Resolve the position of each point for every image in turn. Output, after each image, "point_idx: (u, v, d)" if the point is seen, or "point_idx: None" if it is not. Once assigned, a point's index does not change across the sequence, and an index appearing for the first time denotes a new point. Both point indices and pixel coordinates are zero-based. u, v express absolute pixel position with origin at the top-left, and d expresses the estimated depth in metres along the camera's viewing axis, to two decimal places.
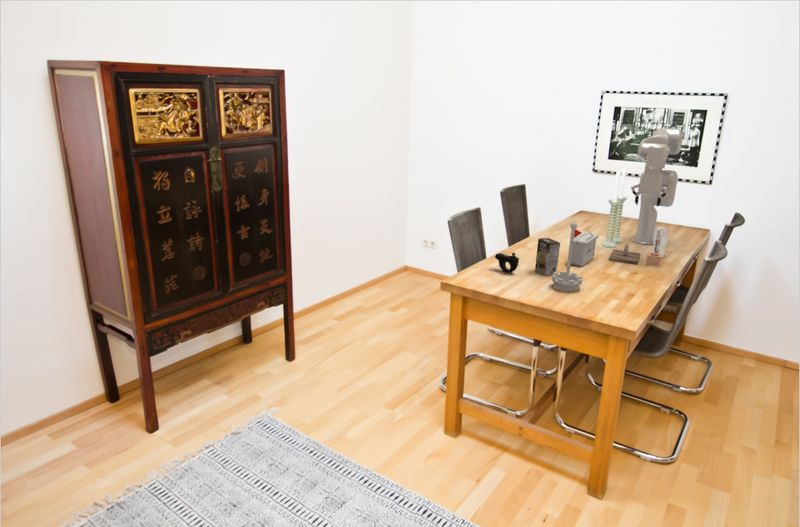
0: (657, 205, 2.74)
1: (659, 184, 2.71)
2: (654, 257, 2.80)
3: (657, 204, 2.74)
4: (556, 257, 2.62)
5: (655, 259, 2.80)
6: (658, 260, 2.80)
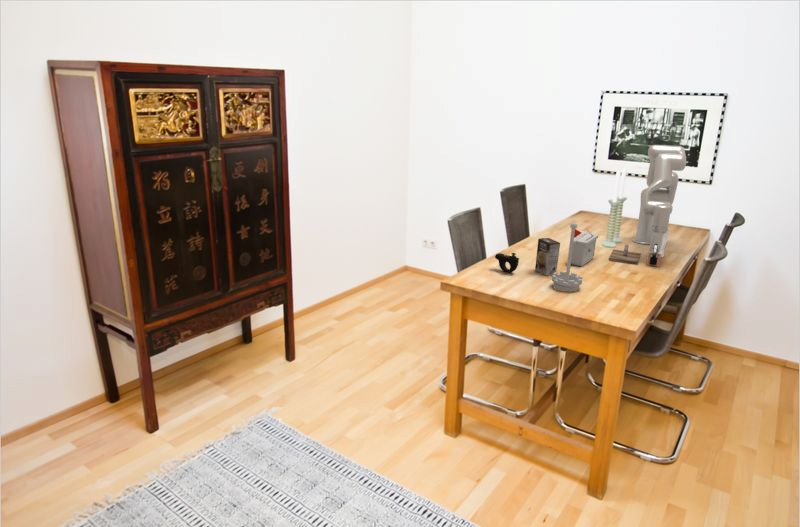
0: None
1: None
2: None
3: None
4: (556, 257, 2.62)
5: None
6: (658, 260, 2.80)
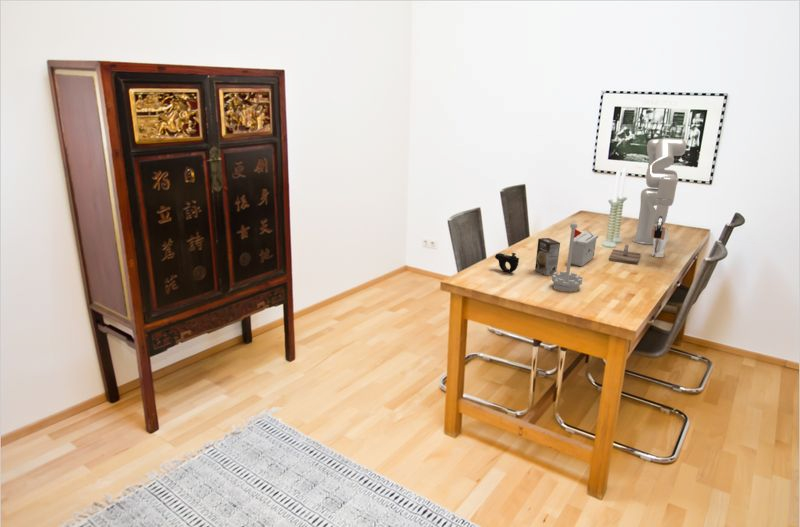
0: None
1: None
2: None
3: None
4: (556, 257, 2.62)
5: None
6: (663, 233, 2.76)
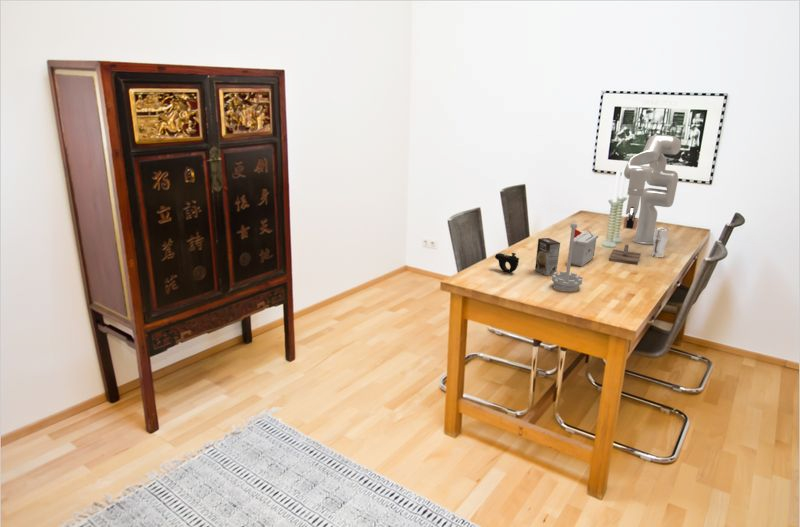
0: None
1: None
2: None
3: None
4: (556, 257, 2.62)
5: None
6: (635, 223, 2.83)
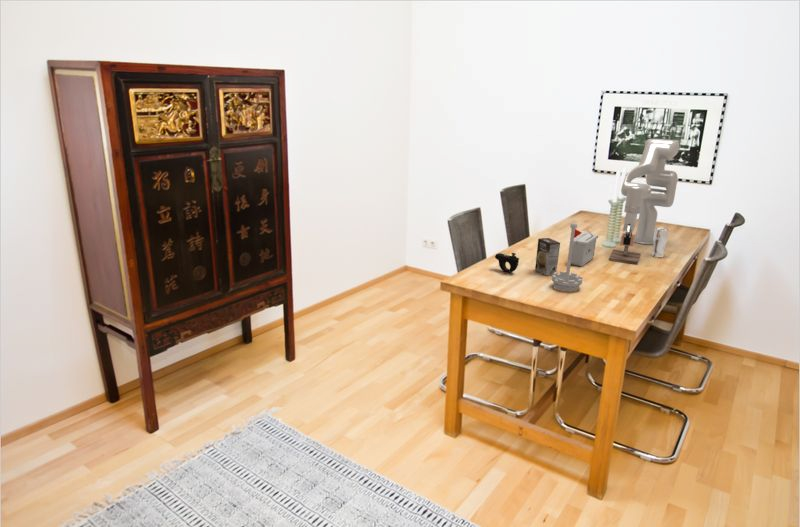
0: None
1: None
2: None
3: None
4: (556, 257, 2.62)
5: None
6: (631, 240, 2.86)
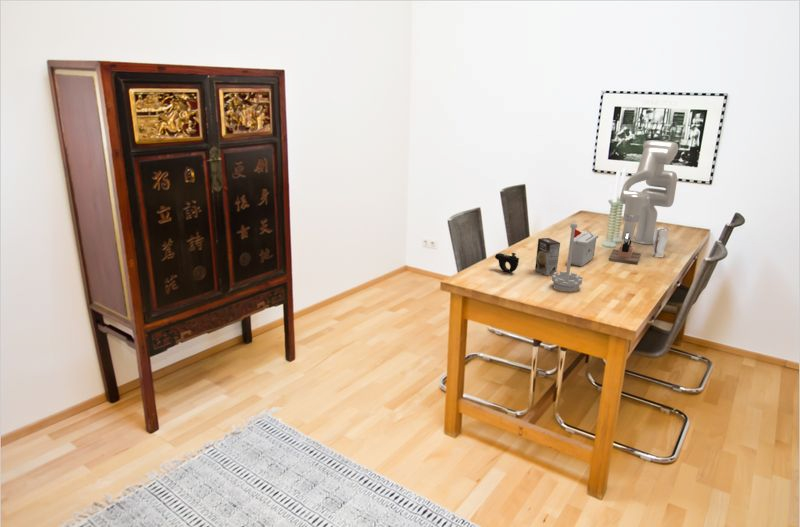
0: None
1: None
2: None
3: None
4: (556, 257, 2.62)
5: None
6: (630, 251, 2.88)
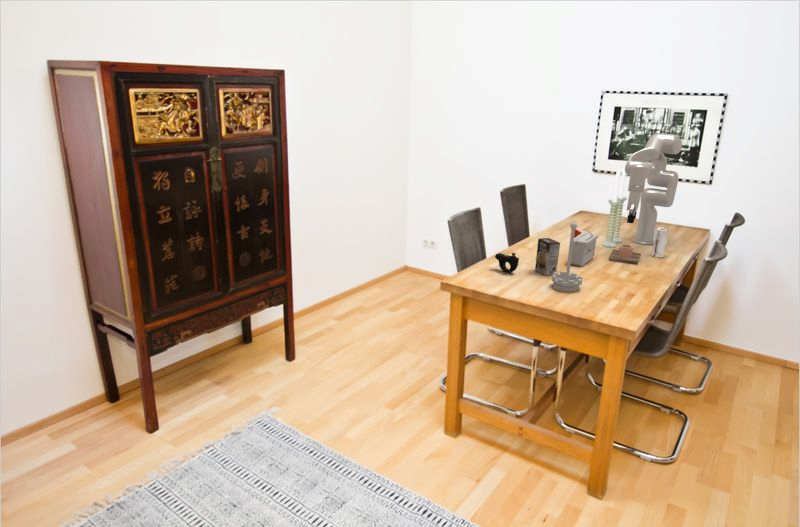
0: (635, 218, 2.92)
1: None
2: (626, 248, 2.89)
3: (635, 217, 2.92)
4: (556, 257, 2.62)
5: (627, 250, 2.89)
6: (630, 251, 2.88)
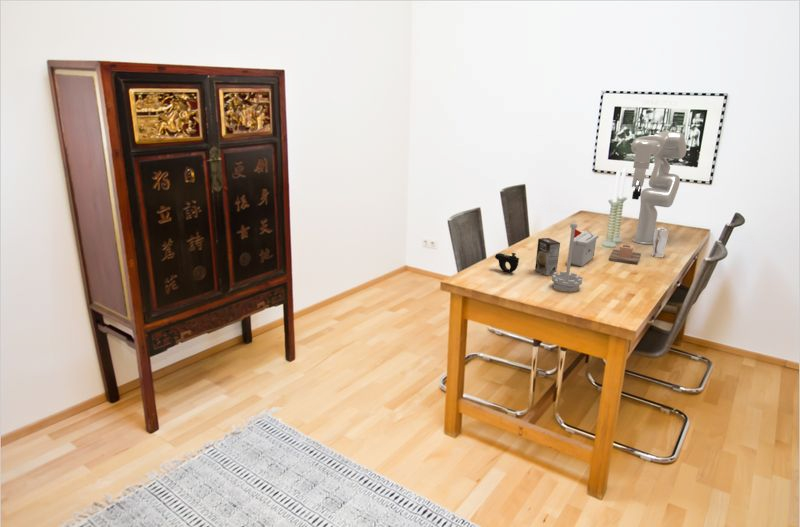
0: None
1: None
2: (626, 248, 2.89)
3: (640, 194, 2.97)
4: (556, 257, 2.62)
5: (627, 250, 2.89)
6: (630, 251, 2.88)
